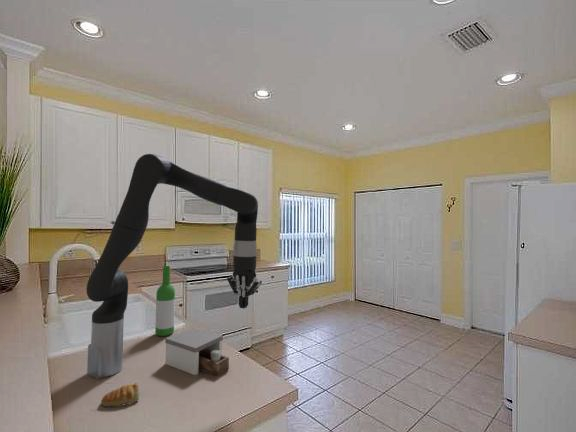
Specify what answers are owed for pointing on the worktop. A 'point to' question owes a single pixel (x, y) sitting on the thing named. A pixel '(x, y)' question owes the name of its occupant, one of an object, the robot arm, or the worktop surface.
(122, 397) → the pastry
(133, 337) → the worktop surface
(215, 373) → the caddy
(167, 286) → the wine bottle
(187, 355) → the counter bay
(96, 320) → the robot arm
